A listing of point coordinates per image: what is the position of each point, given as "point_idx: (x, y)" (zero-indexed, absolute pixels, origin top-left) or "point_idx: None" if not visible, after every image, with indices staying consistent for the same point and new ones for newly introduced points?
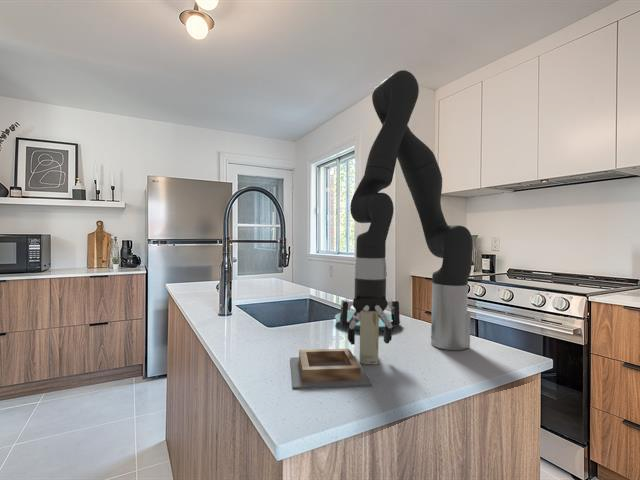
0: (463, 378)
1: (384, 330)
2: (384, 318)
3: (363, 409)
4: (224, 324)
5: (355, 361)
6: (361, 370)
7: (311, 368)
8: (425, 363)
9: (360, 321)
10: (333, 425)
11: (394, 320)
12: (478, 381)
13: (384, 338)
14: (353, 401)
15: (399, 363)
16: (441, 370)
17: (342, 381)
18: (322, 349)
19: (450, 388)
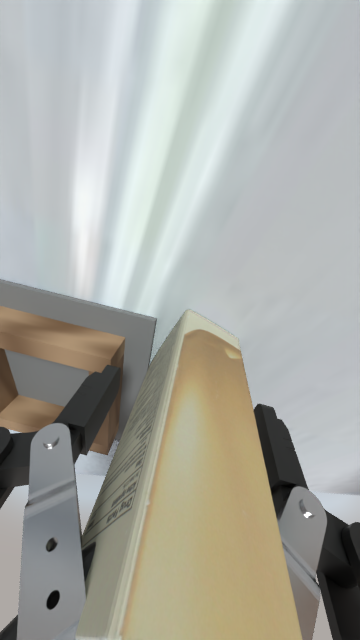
0: (328, 480)
1: (269, 459)
2: None
3: (101, 468)
4: None
5: (104, 432)
6: (134, 403)
7: (2, 424)
8: (335, 418)
9: (84, 536)
10: None
11: (323, 583)
12: (341, 493)
13: (259, 420)
14: (92, 454)
15: (263, 395)
16: (327, 451)
17: None
18: (13, 337)
19: None
